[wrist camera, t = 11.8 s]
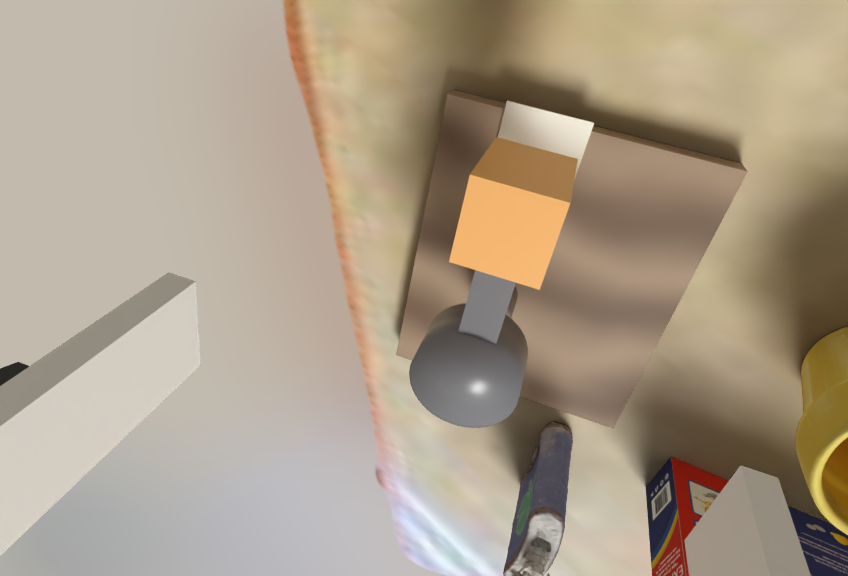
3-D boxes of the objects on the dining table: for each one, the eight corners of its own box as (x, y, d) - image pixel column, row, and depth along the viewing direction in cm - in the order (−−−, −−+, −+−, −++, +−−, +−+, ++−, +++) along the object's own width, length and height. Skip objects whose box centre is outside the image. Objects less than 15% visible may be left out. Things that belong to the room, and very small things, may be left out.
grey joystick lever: (513, 395, 34) (496, 469, 29) (421, 364, 34) (389, 430, 29) (599, 164, 26) (596, 210, 21) (476, 131, 26) (445, 167, 21)
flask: (546, 416, 43) (530, 532, 34) (583, 429, 43) (576, 549, 34) (515, 490, 48) (494, 607, 39) (548, 501, 48) (534, 623, 39)
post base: (455, 81, 33) (417, 106, 26) (746, 155, 30) (783, 203, 24) (402, 344, 44) (366, 408, 37) (612, 414, 41) (613, 496, 35)
